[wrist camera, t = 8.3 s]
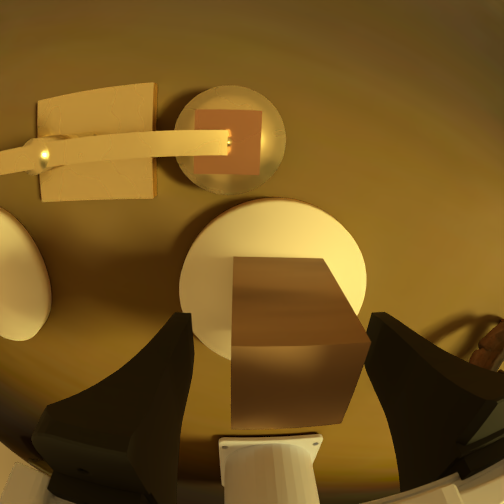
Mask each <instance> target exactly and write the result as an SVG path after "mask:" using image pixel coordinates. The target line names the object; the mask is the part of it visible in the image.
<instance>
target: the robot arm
mask: <svg viewBox="0 0 504 504" xmlns="http://www.w3.org/2000/svg"><path fill="white" fill-rule="evenodd" d="M366 333H367V335H368V337H369V339H370V341H371V344H370V347H369V350H368V353H367V356H366V359H365V362H364V365H365V368H366V371H367V374H368V376H369V378H370V381H371V383H372V385H373V387H374V390H375V392H376V394H377V396H378V399H379V401H380V403H381V405H382V408H383V410H384V413H385V415H386V418H387V421H388V425H389V428H390V432H391V436H392V440H393V444H394V449H395V453H396V459H397V465H398V471H399V480H400V491H401V493H399V494H396V495H392V496H389V497H385V498H381V499H377V500H373V501H369V502H365V503H361V504H504V374H502V373H498V372H494V371H491V370H488V369H485V368H482V367H479V366H476V365H474V364H471V363H469V362H466V361H464V360H462V359H460V358H458V357H456V356H454V355H452V354H450V353H448V352H446V351H444V350H442V349H441V348H439V347H437V346H436V345H434V344H432V343H431V342H429V341H428V340H426V339H425V338H423V337H422V336H420V335H419V334H417V333H416V332H414V331H413V330H411V329H410V328H408V327H407V326H406V325H404V324H403V323H401V322H400V321H398V320H397V319H395V318H394V317H392V316H391V315H389V314H387V313H385V312H376V313H372V314H371V318H370V321H369V325H368V328H367V332H366ZM193 364H194V343H193V330H192V316H191V313H179V312H176V313H174V314H173V315H172V317H171V318H170V319H169V320H168V321H167V323H166V324H165V325H164V326H163V327H162V329H161V330H160V331H159V332H158V333H157V334H156V335H155V336H154V338H153V339H152V340H151V341H150V342H149V343H148V344H147V345H146V346H145V347H144V348H143V349H142V350H141V351H140V352H139V353H138V354H137V355H136V356H135V357H133V358H132V359H131V360H130V361H129V362H128V363H126V364H125V365H124V366H123V367H121V368H120V369H119V370H117V371H116V372H115V373H113V374H112V375H110V376H108V377H107V378H105V379H104V380H102V381H101V382H99V383H97V384H96V385H94V386H92V387H90V388H88V389H86V390H84V391H82V392H80V393H78V394H76V395H74V396H71V397H69V398H66V399H64V400H61V401H58V402H56V403H53V404H50V405H47V407H46V408H45V410H44V412H43V414H42V415H41V417H40V420H39V422H38V424H37V426H36V428H35V430H34V432H33V435H32V437H31V440H32V443H33V446H34V447H35V449H36V450H37V452H38V453H39V454H40V455H41V457H42V458H43V459H44V460H45V461H46V462H47V464H48V465H49V466H50V467H51V468H52V469H53V473H52V476H51V478H50V477H49V476H47V475H46V474H44V473H42V472H40V471H38V470H35V469H33V468H30V467H28V466H25V465H23V464H21V463H19V462H15V464H14V466H13V468H12V471H11V473H10V475H9V478H8V481H7V483H6V485H5V488H4V491H3V493H2V496H1V499H0V504H177V475H178V458H179V444H180V433H181V426H182V420H183V415H184V411H185V406H186V402H187V397H188V393H189V388H190V384H191V379H192V374H193ZM322 440H323V437H322V435H321V434H311V435H299V436H283V437H248V438H240V437H223V438H220V439H219V457H220V469H221V481H222V485H223V486H225V504H320V503H319V497H318V492H317V487H316V482H315V477H314V471H313V466H312V464H313V462H314V459H315V457H316V455H317V452H318V450H319V448H320V445H321V443H322Z"/></svg>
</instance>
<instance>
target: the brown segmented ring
mask: <svg viewBox="0 0 504 504" xmlns="http://www.w3.org/2000/svg"><path fill="white" fill-rule="evenodd" d="M478 347H479V350H475V351H474V352H473V354H472V356H471V358H470V361H469V363H471V364H474V365H476V366H479V367H482V368H485V369H488V370H491V371H494V372H497V370H498V369H499V367H500V365H501V364H502V362H503V361H504V319H501V323H499V324H498V325H497V326H496V327H495V328H493V329H492V330H491V331H490V332H489V333H488V334H487V335H486V336H485V337H484V338H482V339H481V340H480V342H479V344H478ZM498 373H502V374H504V371H503V370H499V371H498Z"/></svg>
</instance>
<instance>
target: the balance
mask: <svg viewBox="0 0 504 504" xmlns="http://www.w3.org/2000/svg"><path fill="white" fill-rule="evenodd" d="M157 95H158V84H156V83H154V82H153V83H141V84H131V85H123V86H115V87H108V88H101V89H94V90H88V91H83V92H77V93H72V94H67V95H62V96H57V97H53V98H48V99H44V100H40V101H38V117H37V132H38V138H34V139H30V140H28V141H27V142H26V143H25V144H24V146H23V147H18V148H13V149H9V150H4V151H0V175H3V174H9V173H14V172H20V171H25V172H26V173H28V174H29V175H37V174H39V176H40V187H41V197H42V202H53V201H74V200H101V199H153V198H154V197H156V196H157V163H156V157H166V156H175V157H176V160H177V162H178V164H179V166H180V168H181V170H182V171H183V173H184V174H185V175H186V176H187V177H188V178H189V179H190V180H191V181H192V182H193V183H194V184H196V185H197V186H199V187H200V188H202V189H204V190H207V191H209V192H212V193H216V194H223V195H235V194H241V193H245V192H248V191H251V190H253V189H255V188H257V187H259V186H260V185H262V184H263V183H265V182H266V181H267V180H268V179H269V178H270V177H271V176H272V175H273V174H274V172H275V171H276V170H277V168H278V167H279V165H280V163H281V161H282V158H283V155H284V152H285V146H286V133H285V127H284V124H283V121H282V118H281V116H280V114H279V112H278V111H277V109H276V108H275V107H274V105H273V104H272V103H271V102H270V101H269V100H268V99H267V98H266V97H264V96H263V95H261V94H260V93H258V92H256V91H254V90H252V89H249V88H246V87H241V86H234V85H226V86H219V87H214V88H211V89H208V90H206V91H204V92H202V93H200V94H199V95H197V96H196V97H194V98H193V99H192V100H191V101H190V102H189V103H188V104H187V105H186V106H185V107H184V109H183V110H182V112H181V113H180V115H179V117H178V119H177V122H176V124H175V128H174V130H169V131H157Z"/></svg>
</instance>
